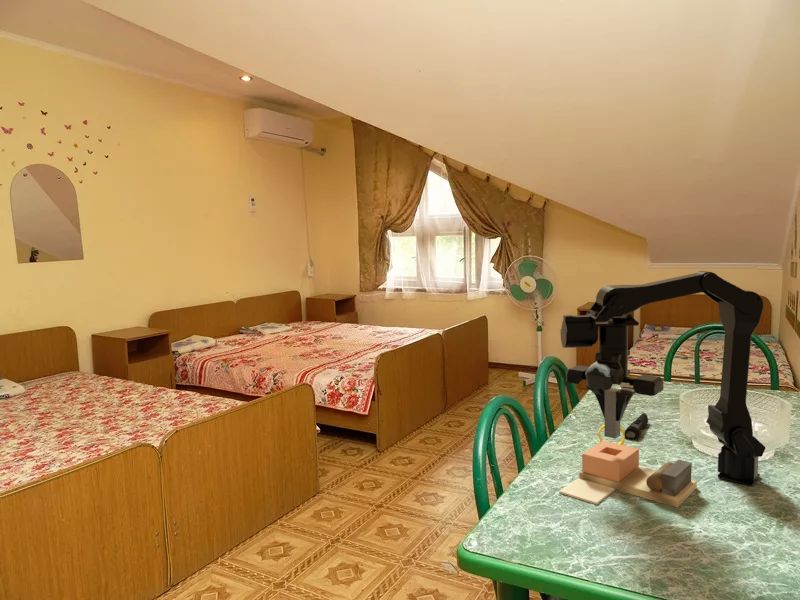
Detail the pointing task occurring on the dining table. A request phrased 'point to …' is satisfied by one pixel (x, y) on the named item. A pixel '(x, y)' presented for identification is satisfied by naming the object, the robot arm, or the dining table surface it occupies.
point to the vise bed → (640, 486)
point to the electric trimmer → (636, 427)
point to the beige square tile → (587, 491)
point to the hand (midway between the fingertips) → (612, 419)
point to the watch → (620, 429)
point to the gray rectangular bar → (611, 414)
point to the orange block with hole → (610, 460)
